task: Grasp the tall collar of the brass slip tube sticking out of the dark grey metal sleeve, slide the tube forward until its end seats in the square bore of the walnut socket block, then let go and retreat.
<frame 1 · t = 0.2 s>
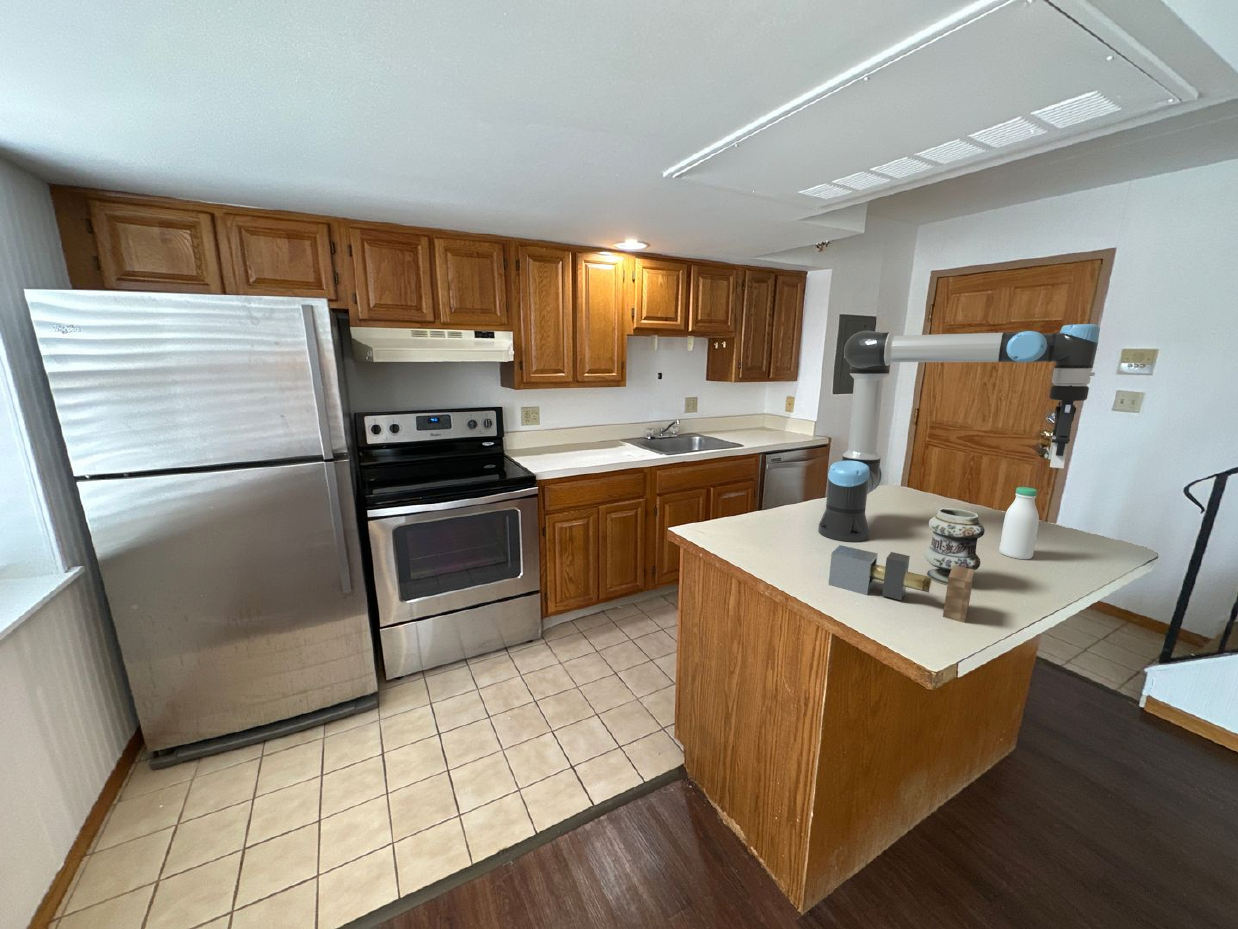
hand: (1055, 463, 133), 28 cm above the table, fingers open, 13 cm apart
milk bottle: (1015, 555, 142), on the table
apothecary jar: (948, 579, 127), on the table
socket block: (945, 609, 111), on the table
slip tube: (882, 572, 118), point 5 cm above the table, slide at 0.0 cm
sleeve: (851, 584, 123), on the table
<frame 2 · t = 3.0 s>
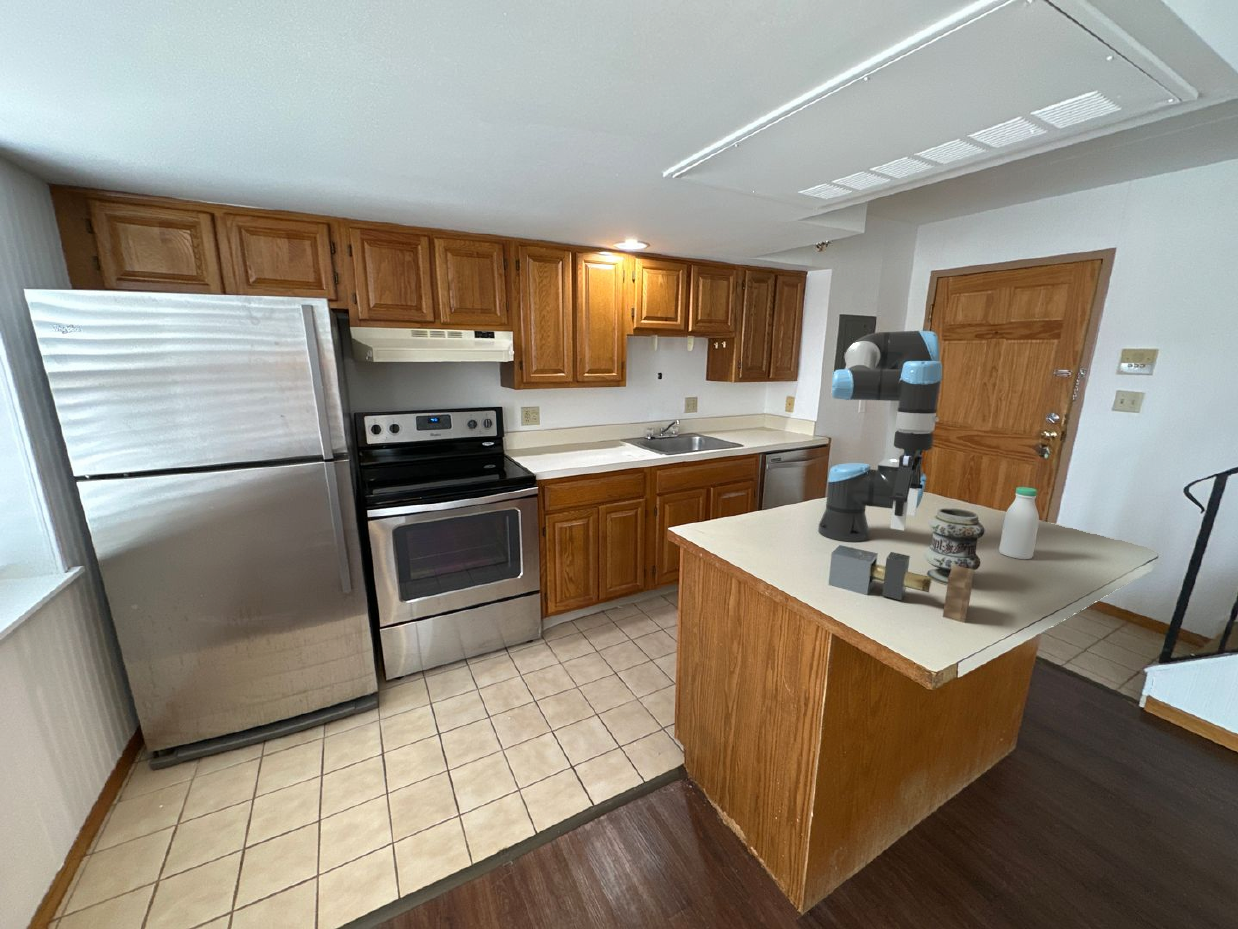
hand: (903, 521, 114), 19 cm above the table, fingers open, 13 cm apart
nothing on the table moved.
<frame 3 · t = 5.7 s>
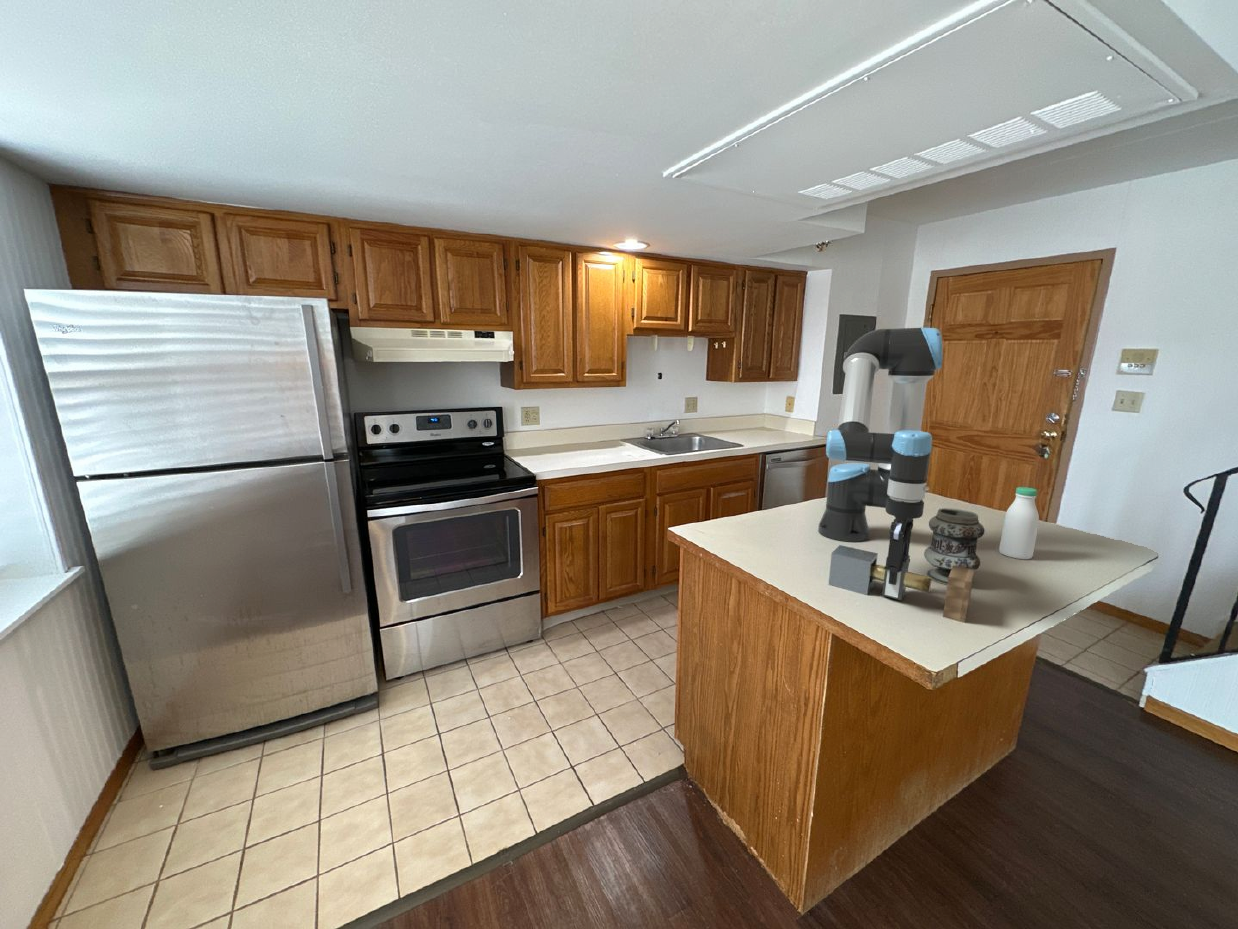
hand: (894, 591, 117), 1 cm above the table, fingers closed on slip tube, 5 cm apart
slip tube: (882, 572, 118), point 5 cm above the table, slide at 0.0 cm, touching gripper
everything else where it was.
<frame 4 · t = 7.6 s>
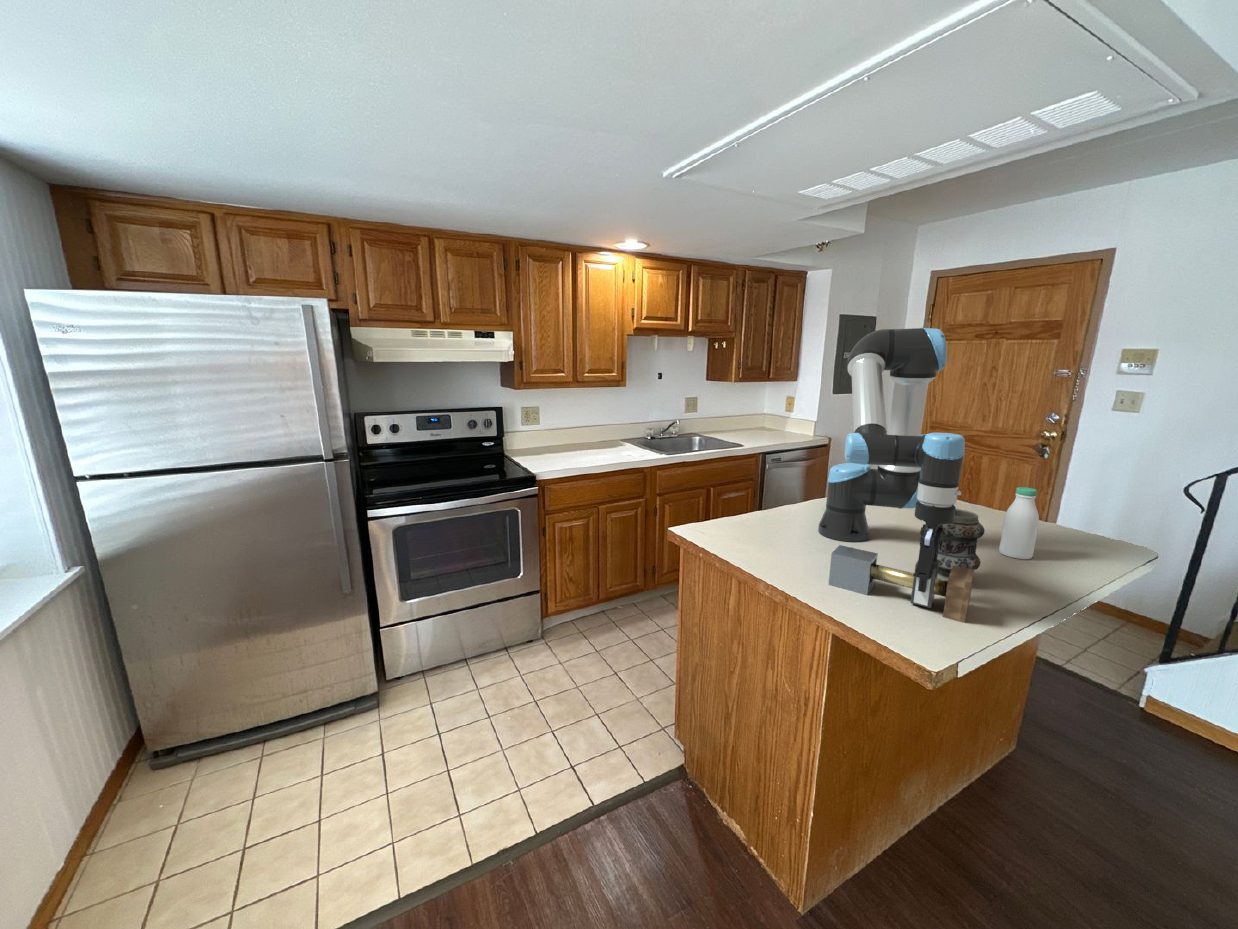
hand: (922, 598, 113), 1 cm above the table, fingers closed on slip tube, 5 cm apart
slip tube: (910, 579, 114), point 5 cm above the table, slide at 5.9 cm, touching gripper
everything else where it was.
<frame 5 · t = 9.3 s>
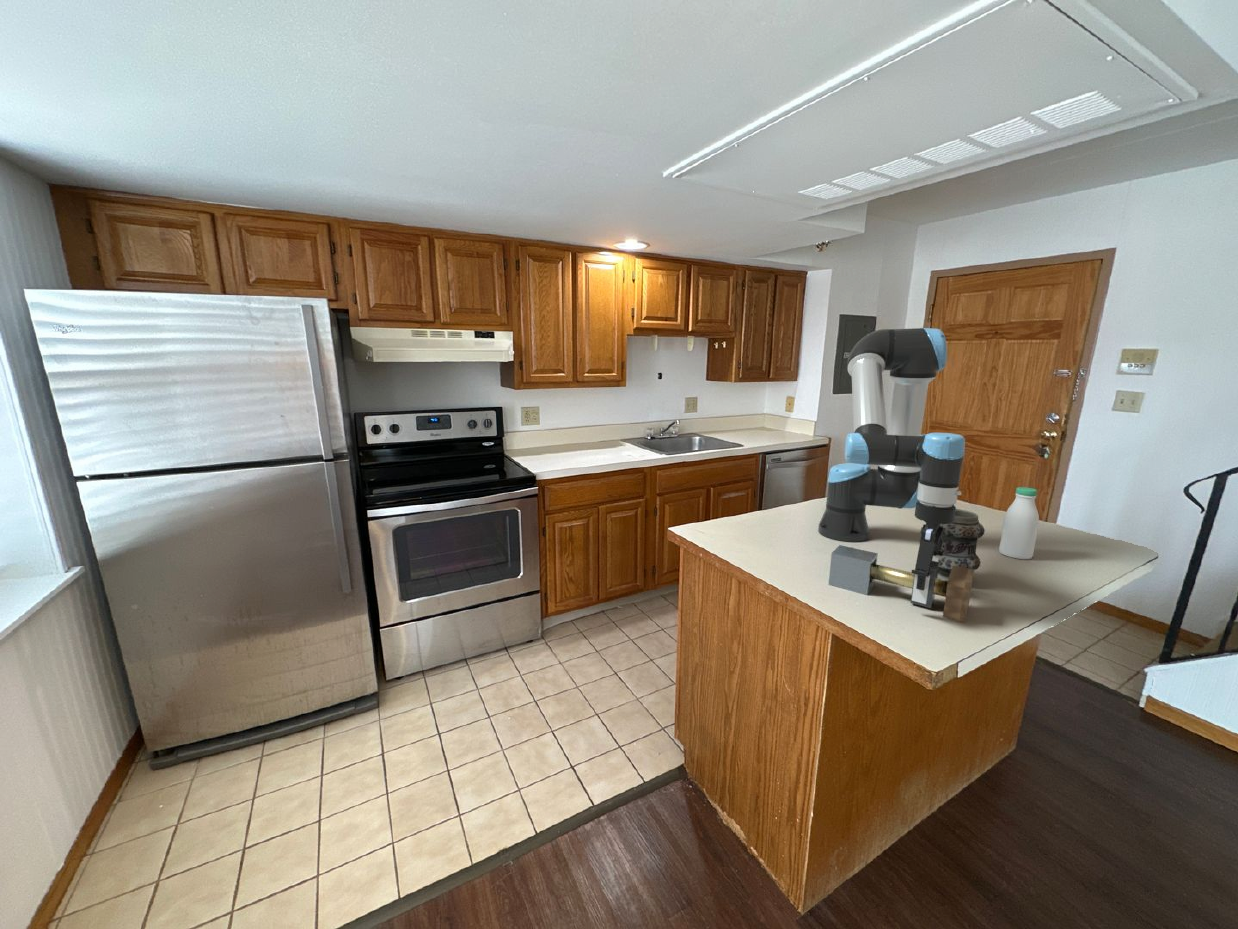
hand: (924, 590, 113), 3 cm above the table, fingers open, 13 cm apart
slip tube: (910, 579, 114), point 5 cm above the table, slide at 6.0 cm
everything else where it was.
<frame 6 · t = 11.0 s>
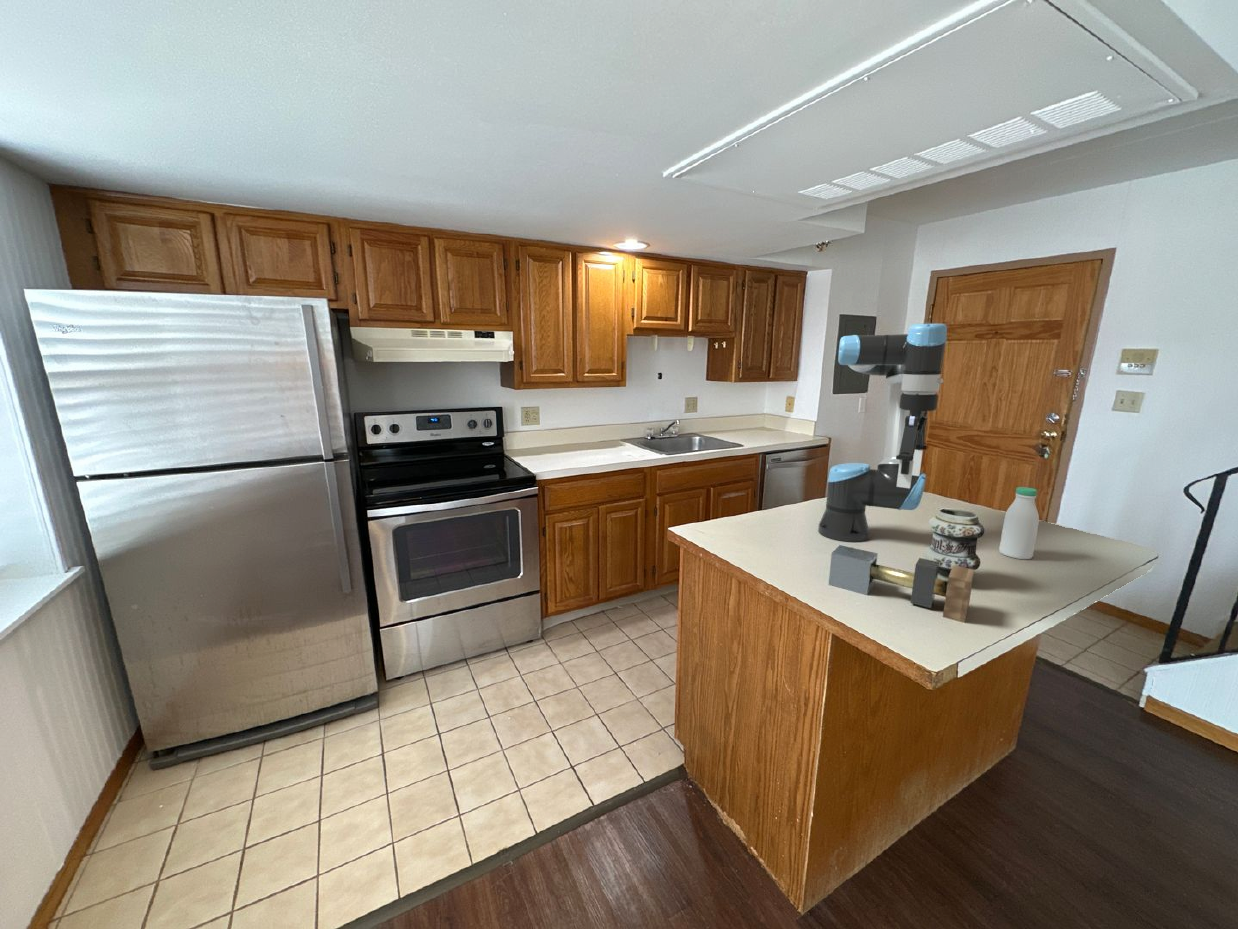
hand: (908, 481, 118), 27 cm above the table, fingers open, 13 cm apart
nothing on the table moved.
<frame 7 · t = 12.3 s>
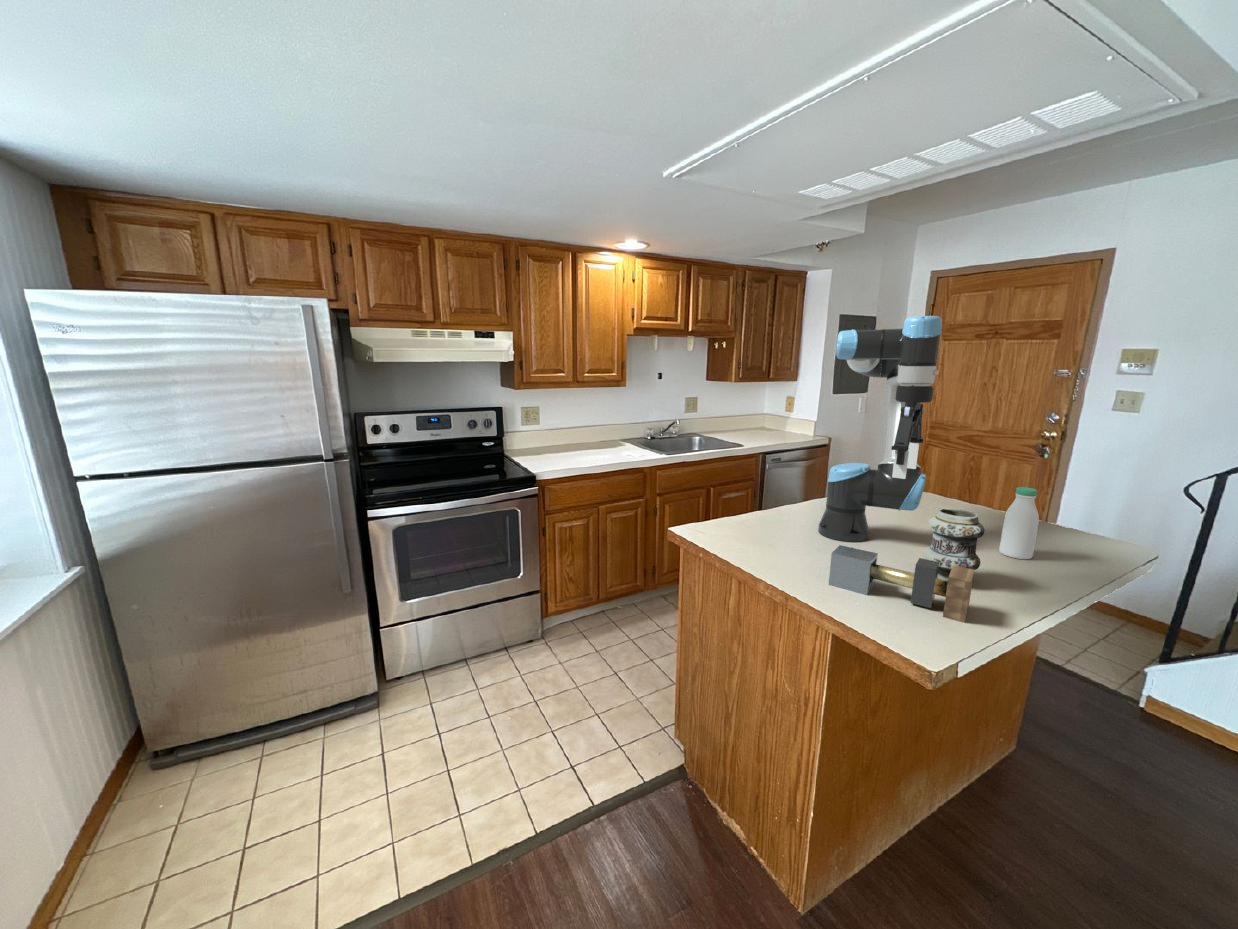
hand: (904, 473, 119), 29 cm above the table, fingers open, 13 cm apart
nothing on the table moved.
at the end: slip tube slide at 6.0 cm; the gripper is holding nothing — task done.
